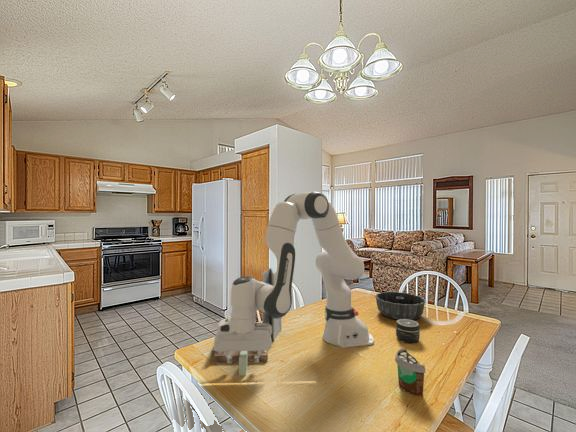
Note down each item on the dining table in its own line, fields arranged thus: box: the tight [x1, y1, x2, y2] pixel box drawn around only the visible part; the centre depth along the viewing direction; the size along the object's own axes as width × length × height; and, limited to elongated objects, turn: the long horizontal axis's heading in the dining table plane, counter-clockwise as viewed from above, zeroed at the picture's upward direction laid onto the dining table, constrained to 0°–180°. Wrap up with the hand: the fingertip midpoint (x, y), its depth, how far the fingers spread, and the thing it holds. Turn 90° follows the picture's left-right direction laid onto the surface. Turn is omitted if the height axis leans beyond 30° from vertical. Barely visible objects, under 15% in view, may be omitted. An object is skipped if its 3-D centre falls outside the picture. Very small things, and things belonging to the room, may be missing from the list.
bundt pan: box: [374, 291, 427, 321], centre depth 161 cm, size 26×26×10 cm
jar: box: [395, 318, 421, 345], centre depth 129 cm, size 10×10×8 cm
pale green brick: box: [238, 351, 249, 376], centre depth 102 cm, size 2×6×6 cm, turn 3°
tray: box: [210, 345, 269, 364], centre depth 115 cm, size 21×14×5 cm, turn 92°
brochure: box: [261, 267, 282, 342], centre depth 134 cm, size 14×6×30 cm, turn 168°
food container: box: [394, 347, 426, 397], centre depth 94 cm, size 12×6×10 cm, turn 5°
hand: (243, 362), depth 102 cm, fingers open, 8 cm apart
